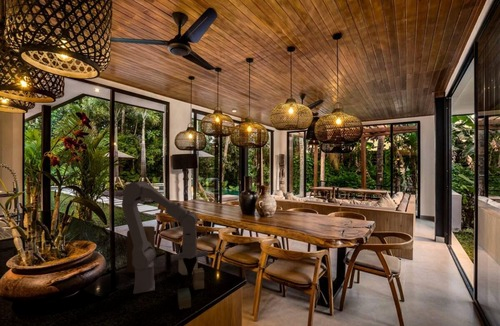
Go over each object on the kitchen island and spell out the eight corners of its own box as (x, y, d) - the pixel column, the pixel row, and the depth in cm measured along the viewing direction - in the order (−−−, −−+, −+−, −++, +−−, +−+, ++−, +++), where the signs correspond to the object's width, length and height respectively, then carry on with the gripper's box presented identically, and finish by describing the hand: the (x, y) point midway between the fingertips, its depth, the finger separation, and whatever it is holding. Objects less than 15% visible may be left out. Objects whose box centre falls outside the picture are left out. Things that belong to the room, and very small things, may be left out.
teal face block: (177, 289, 96) (179, 298, 89) (188, 287, 97) (190, 296, 91) (177, 299, 96) (179, 309, 89) (188, 297, 97) (190, 307, 91)
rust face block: (192, 285, 107) (192, 269, 107) (202, 284, 108) (202, 267, 108) (194, 290, 103) (194, 272, 103) (204, 288, 104) (204, 271, 104)
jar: (177, 275, 116) (177, 249, 116) (179, 268, 124) (179, 244, 124) (197, 274, 117) (197, 248, 117) (198, 267, 125) (198, 243, 125)
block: (146, 273, 118) (147, 230, 118) (125, 273, 118) (125, 230, 118) (155, 265, 128) (155, 225, 128) (135, 265, 128) (136, 225, 128)
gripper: (172, 247, 98) (171, 283, 98) (209, 243, 103) (209, 276, 103) (170, 242, 104) (170, 275, 104) (205, 238, 110) (205, 270, 110)
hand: (189, 275), depth 104 cm, fingers closed
